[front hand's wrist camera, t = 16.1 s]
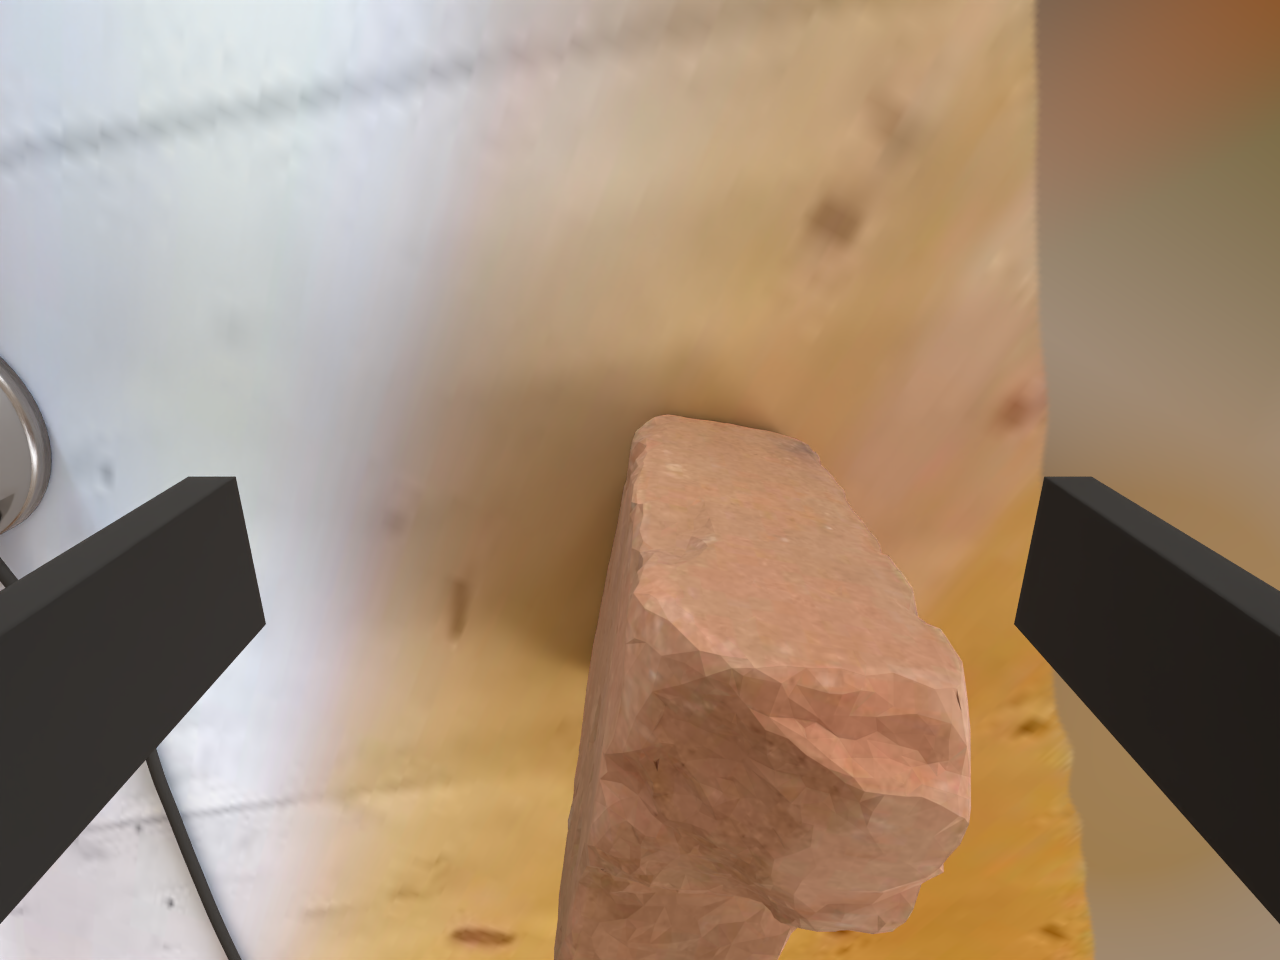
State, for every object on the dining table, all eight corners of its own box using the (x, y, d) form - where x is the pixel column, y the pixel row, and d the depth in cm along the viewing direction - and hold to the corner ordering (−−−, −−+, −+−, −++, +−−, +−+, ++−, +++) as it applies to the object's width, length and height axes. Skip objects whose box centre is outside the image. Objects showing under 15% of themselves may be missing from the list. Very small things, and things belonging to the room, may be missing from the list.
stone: (734, 715, 54) (831, 1189, 27) (581, 692, 53) (525, 1154, 26) (808, 433, 47) (1034, 692, 20) (634, 402, 46) (633, 628, 20)
